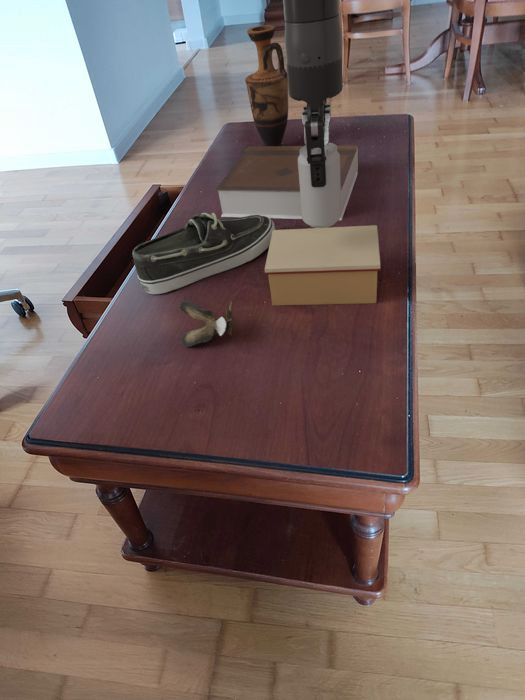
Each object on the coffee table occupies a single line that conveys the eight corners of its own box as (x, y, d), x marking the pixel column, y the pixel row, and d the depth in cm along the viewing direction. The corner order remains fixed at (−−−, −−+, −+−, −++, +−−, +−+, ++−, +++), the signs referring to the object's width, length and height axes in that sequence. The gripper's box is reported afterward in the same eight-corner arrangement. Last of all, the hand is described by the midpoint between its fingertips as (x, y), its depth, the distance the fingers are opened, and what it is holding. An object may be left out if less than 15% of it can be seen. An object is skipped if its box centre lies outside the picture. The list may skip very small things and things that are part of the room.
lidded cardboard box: (376, 263, 97) (377, 225, 91) (379, 304, 87) (380, 265, 82) (276, 266, 100) (272, 229, 95) (269, 307, 90) (264, 269, 85)
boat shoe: (289, 243, 106) (285, 199, 99) (158, 307, 95) (143, 262, 88) (259, 226, 113) (253, 183, 106) (134, 283, 102) (119, 240, 95)
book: (251, 171, 135) (248, 146, 131) (358, 171, 127) (358, 145, 123) (220, 216, 118) (215, 189, 114) (341, 220, 110) (341, 191, 106)
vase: (250, 160, 141) (232, 35, 121) (261, 145, 148) (247, 24, 128) (288, 160, 138) (276, 32, 118) (298, 144, 145) (288, 21, 125)
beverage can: (331, 208, 88) (329, 136, 80) (347, 224, 83) (346, 150, 75) (296, 217, 87) (290, 146, 79) (311, 234, 82) (306, 160, 74)
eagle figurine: (232, 309, 89) (179, 308, 89) (233, 294, 83) (176, 292, 82) (231, 351, 87) (178, 350, 87) (233, 339, 80) (175, 338, 80)
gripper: (341, 68, 63) (344, 195, 74) (342, 40, 73) (344, 156, 84) (281, 74, 64) (292, 198, 75) (290, 46, 75) (299, 159, 86)
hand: (319, 175), depth 80 cm, fingers closed on beverage can, 6 cm apart
